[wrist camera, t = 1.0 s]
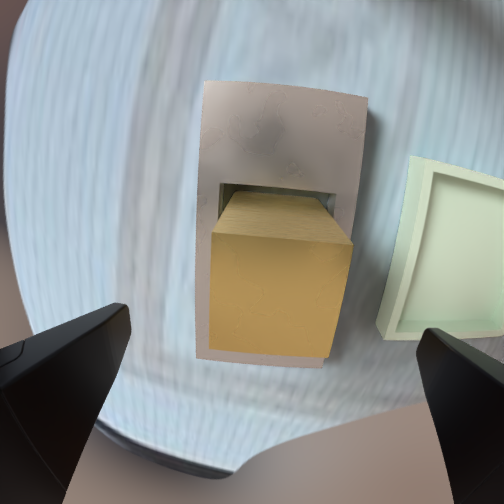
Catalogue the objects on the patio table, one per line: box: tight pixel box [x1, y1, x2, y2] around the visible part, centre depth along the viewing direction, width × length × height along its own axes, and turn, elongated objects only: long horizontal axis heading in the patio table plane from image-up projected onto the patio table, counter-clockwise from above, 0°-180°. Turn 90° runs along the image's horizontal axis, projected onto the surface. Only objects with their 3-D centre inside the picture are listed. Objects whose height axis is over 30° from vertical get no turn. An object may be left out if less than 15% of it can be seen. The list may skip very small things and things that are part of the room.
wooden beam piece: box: [209, 191, 354, 358], centre depth 14 cm, size 4×4×8 cm
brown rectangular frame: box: [195, 81, 368, 368], centre depth 17 cm, size 8×16×2 cm, turn 175°
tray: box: [375, 155, 504, 340], centre depth 17 cm, size 11×11×2 cm
